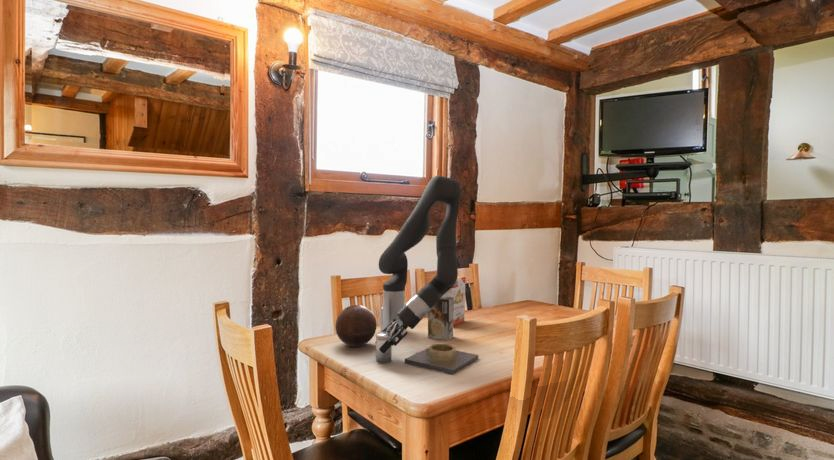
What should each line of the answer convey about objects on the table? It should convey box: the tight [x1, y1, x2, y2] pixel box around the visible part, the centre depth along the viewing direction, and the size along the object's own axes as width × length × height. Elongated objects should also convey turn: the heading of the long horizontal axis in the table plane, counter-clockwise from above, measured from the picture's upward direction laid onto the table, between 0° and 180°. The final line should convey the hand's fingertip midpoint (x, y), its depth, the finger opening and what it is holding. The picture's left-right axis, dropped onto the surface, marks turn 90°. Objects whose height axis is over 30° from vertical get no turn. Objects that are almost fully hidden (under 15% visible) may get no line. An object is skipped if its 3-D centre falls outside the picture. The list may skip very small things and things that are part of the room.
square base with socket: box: [404, 343, 479, 376], centre depth 148 cm, size 18×18×4 cm
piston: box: [375, 331, 393, 365], centre depth 147 cm, size 5×5×9 cm
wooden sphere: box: [335, 304, 377, 347], centre depth 164 cm, size 15×15×15 cm
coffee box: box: [427, 296, 454, 341], centre depth 177 cm, size 9×6×16 cm
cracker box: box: [443, 275, 467, 327], centre depth 200 cm, size 14×6×21 cm, turn 148°
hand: (379, 348), depth 147 cm, fingers open, 7 cm apart
